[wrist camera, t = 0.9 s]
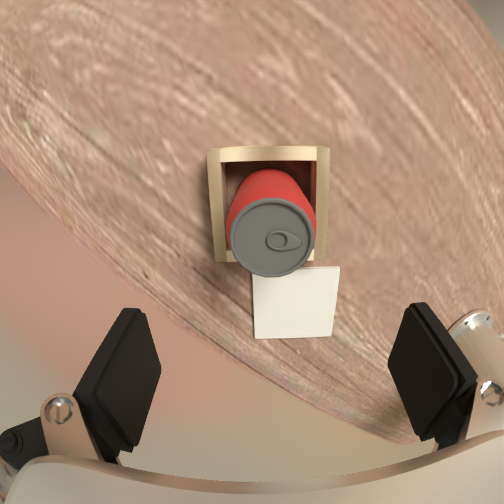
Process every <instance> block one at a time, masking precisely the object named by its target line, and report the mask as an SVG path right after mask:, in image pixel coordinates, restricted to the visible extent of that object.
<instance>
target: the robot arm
mask: <svg viewBox="0 0 504 504" xmlns="http://www.w3.org/2000/svg"><path fill="white" fill-rule="evenodd" d="M493 325H494V321H493V317H492V316H491V314H490V313H489V312H488V311H486V310H475V311H473V312H470V313H469V314H467V315H465V316H464V317H462V318H461V319H460V320H458V321H457V322H456V323H455V324H454V325H453V326H452V327H451V328H450V329H449V331H447V330H446V328H445V327H444V326H443V324H442V323H441V321H440V320H439V319H438V317H437V316H436V315H435V314H434V312H433V311H432V310H431V308H430V307H429V306H428V304H427V303H425V302H420V303H412V304H410V305H409V308H406V310H405V312H404V316H403V319H402V322H401V325H400V328H399V331H398V334H397V337H396V340H395V343H394V345H393V348H392V351H391V353H390V356H389V359H388V368H389V371H390V373H391V375H392V378H393V380H394V382H395V385H396V387H397V389H398V392H399V394H400V397H401V399H402V402H403V404H404V407H405V409H406V412H407V414H408V417H409V419H410V422H411V425H412V427H413V430H414V432H415V434H416V435H417V436H418V435H419V437H420V440H421V442H422V441H425V440H428V439H431V438H433V437H434V438H435V441H436V443H435V445H434V448H433V450H432V453H429V454H426V455H423V456H420V457H417V458H414V459H410V460H407V461H404V462H400V463H397V464H393V465H389V466H385V467H381V468H377V469H372V470H367V471H363V472H357V473H352V474H346V475H340V476H334V477H326V478H318V479H309V480H299V481H281V482H231V481H214V480H202V479H193V478H184V477H178V476H171V475H164V474H159V473H153V472H147V471H143V470H137V469H133V468H129V467H124V466H122V464H121V462H120V460H119V458H118V455H119V453H120V450H122V451H126V452H131V453H132V451H133V448H134V446H137V445H138V444H139V441H140V438H141V435H142V431H143V428H144V425H145V421H146V418H147V415H148V412H149V409H150V405H151V402H152V399H153V396H154V393H155V390H156V387H157V384H158V380H159V378H160V375H161V364H160V361H159V358H158V355H157V352H156V349H155V345H154V342H153V339H152V335H151V332H150V328H149V325H148V321H147V318H146V315H145V313H142V312H141V310H140V309H137V308H124V309H123V310H122V311H121V313H120V314H119V316H118V317H117V319H116V321H115V322H114V324H113V325H112V327H111V329H110V331H109V332H108V334H107V336H106V337H105V339H104V340H103V342H102V344H101V345H100V347H99V348H98V350H97V352H96V353H95V355H94V357H93V359H92V360H91V362H90V364H89V366H88V368H87V369H86V371H85V373H84V375H83V377H82V378H81V380H80V382H79V384H78V385H77V387H76V389H75V391H74V393H73V395H72V396H71V395H69V394H66V393H58V394H54V395H52V396H50V397H49V398H48V399H46V400H45V402H44V403H43V405H42V407H41V410H40V417H37V418H35V419H33V420H30V421H28V422H25V423H23V424H20V425H18V426H15V427H12V428H10V429H8V430H6V431H4V432H3V433H2V434H1V435H0V504H504V342H503V341H502V340H503V339H504V332H501V333H498V334H497V332H496V331H495V330H494V329H493Z"/></svg>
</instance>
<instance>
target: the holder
mask: <svg viewBox="0 0 504 504" xmlns="http://www.w3.org/2000/svg"><path fill="white" fill-rule="evenodd" d="M206 153H207V168H208V183H209V196H210V209H211V221H212V233H213V244H214V254H215V262H238V261H237V260H236V259H235V258H234V255H233V253H232V250H231V248H230V245H229V242H228V240H227V236H226V219H227V216H228V197H227V180H226V162H235V161H266V160H311V171H310V205H311V207H312V208H313V211H314V214H315V218H316V221H317V224H316V239H315V241H314V247H313V249H312V252H311V254H310V257H309V258H308V259H307V260H325V257H326V243H327V226H328V205H329V170H330V148H328V147H324V146H299V145H276V146H240V147H221V148H211V149H208V150H206Z"/></svg>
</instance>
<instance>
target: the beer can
mask: <svg viewBox="0 0 504 504" xmlns="http://www.w3.org/2000/svg"><path fill="white" fill-rule="evenodd" d="M316 224H317V221H316V218H315V214H314V211H313V208H312V207H311V205H310V203H309V202H308V200H307V198H306V197H305V195H304V194H303V192H302V191H301V189H300V187H299V186H298V184H297V183H296V182H295V180H294V179H293V178H292V177H291V176H290V175H288V174H287V173H286V172H284V171H282V170H278V169H275V168H262V169H259V170H257V171H254V172H252V173H251V174H250V175H248V176H247V177H246V178H245V179H244V180H243V182H242V183H241V185H240V186H239V188H238V191H237V193H236V195H235V197H234V200H233V202H232V204H231V207H230V209H229V212H228V216H227V219H226V236H227V240H228V242H229V245H230V248H231V250H232V253H233V255H234V258H235V259H236V260H237V261H238V262H239V264H240V265H241V266H242V267H243V268H244V269H246V270H248V271H249V272H251V273H252V274H255V275H258V276H262V277H266V278H269V277H282V276H285V275H288V274H291V273H293V272H294V271H296V270H297V269H299V268H300V267H302V265H303V264H304V263H305V262H306V261H307V259H308V258H309V257H310V254H311V252H312V249H313V247H314V241H315V239H316Z"/></svg>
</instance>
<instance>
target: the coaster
mask: <svg viewBox="0 0 504 504" xmlns="http://www.w3.org/2000/svg"><path fill="white" fill-rule="evenodd" d="M339 273H340V268H339V266H330V267H300V268H299V269H297V270H296V271H294V272H293V273H291V274H288V275H285V276H282V277H269V278H266V277H262V276H258V275H255V274H252V277H253V302H254V327H255V339H267V338H303V337H324V336H331V332H332V326H333V319H334V313H335V306H336V298H337V290H338V282H339Z"/></svg>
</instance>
